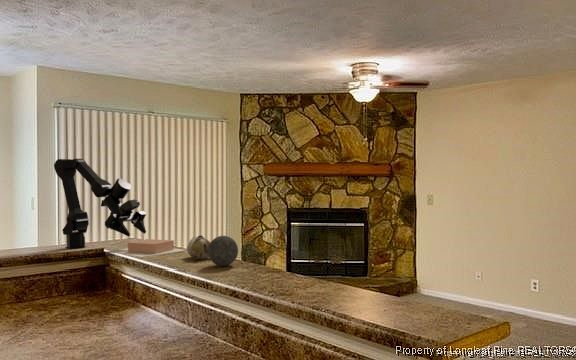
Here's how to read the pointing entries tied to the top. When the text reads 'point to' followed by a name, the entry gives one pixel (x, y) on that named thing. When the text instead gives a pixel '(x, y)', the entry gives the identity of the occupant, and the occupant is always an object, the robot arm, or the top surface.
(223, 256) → the decorative ball
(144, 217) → the robot arm
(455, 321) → the top surface
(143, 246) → the tile
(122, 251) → the mat
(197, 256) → the ceramic sculpture
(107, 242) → the top surface
